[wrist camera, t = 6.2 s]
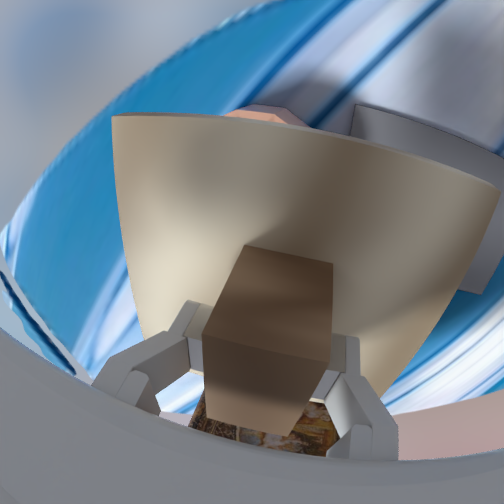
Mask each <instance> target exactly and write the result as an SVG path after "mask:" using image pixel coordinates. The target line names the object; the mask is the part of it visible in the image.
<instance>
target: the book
mask: <svg viewBox="0 0 504 504" xmlns="http://www.w3.org/2000/svg"><path fill="white" fill-rule="evenodd" d="M188 427H190V428H193V429H196V430H199V431H202V432H206V433H209V434H212V435H216V436H219V437H223V438H227V439H230V440H234V441H238V442H242V443H246V444H251V445H255V446H260V447H265V448H270V449H275V450H280V451H286V452H292V453H298V454H305V455H312V456H320V457H326V453H327V450H329V449H330V448H331V447H332V446H333V445H334V444H335V443H336V442H337V441H338V440H339V439H340V436H339V434H338V432H337V430H336V428H335V425H334V423H333V421H332V419H331V417H330V414H329V412H328V410H327V408H326V406H325V404H324V403H319V402H313V401H309V402H308V404H307V405H306V407H305V409H304V411H303V412H302V414H301V416H300V417H299V419H298V421H297V422H296V424H295V426H294V427H293V429H292V430H291V432H290V434H289V435H288V437H286V436H281V435H276V434H271V433H266V432H261V431H256V430H252V429H248V428H244V427H240V426H236V425H232V424H228V423H224V422H221V421H217V420H214V419H210V418H207V414H206V402H205V388H204V391H203V393H202V395H201V398H200V400H199V402H198V404H197V407H196V409H195V411H194V414H193V416H192V418H191V420H190V423H189V425H188Z"/></svg>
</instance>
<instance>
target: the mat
mask: <svg viewBox="0 0 504 504" xmlns="http://www.w3.org/2000/svg"><path fill="white" fill-rule="evenodd" d="M350 136H351V137H355V138H359V139H363V140H367V141H371V142H374V143H378V144H382V145H385V146H389V147H392V148H396V149H399V150H403V151H406V152H409V153H412V154H415V155H418V156H421V157H424V158H427V159H430V160H433V161H436V162H439V163H442V164H444V165H447V166H450V167H453V168H455V169H458V170H460V171H463V172H465V173H468V174H470V175H473V176H475V177H478V178H480V179H482V180H485V181H487V182H489V183H491V184H492V185H494V186H495V187H496V188H497V189H499V190H500V191H501V195H500V197H499V200H498V203H497V206H496V208H495V211H494V213H493V216H492V218H491V221H490V223H489V226H488V228H487V230H486V233H485V235H484V237H483V240H482V242H481V244H480V246H479V248H478V250H477V252H476V255H475V257H474V259H473V261H472V263H471V265H470V267H469V269H468V270H467V272H466V274H465V276H464V278H463V280H462V282H461V284H460V285H459V287H458V289H459V290H463V291H467V292H471V293H475V294H479V295H481V294H482V292H483V291H484V289H485V287H486V286H487V284H488V282H489V281H490V279H491V277H492V275H493V273H494V272H495V270H496V268H497V266H498V264H499V262H500V260H501V258H502V256H503V254H504V158H502V157H500V156H498V155H496V154H494V153H492V152H490V151H488V150H486V149H484V148H482V147H479V146H477V145H475V144H473V143H470V142H468V141H466V140H464V139H461V138H459V137H456V136H454V135H451V134H449V133H446V132H444V131H441V130H439V129H436V128H433V127H430V126H428V125H425V124H422V123H419V122H416V121H413V120H410V119H407V118H404V117H400V116H397V115H394V114H390V113H387V112H384V111H380V110H376V109H373V108H369V107H365V106H361V105H357V104H355V110H354V115H353V121H352V127H351V132H350Z"/></svg>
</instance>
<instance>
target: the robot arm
mask: <svg viewBox="0 0 504 504" xmlns="http://www.w3.org/2000/svg"><path fill="white" fill-rule="evenodd" d="M213 308H214V306H210V305H207V304H203V303H199V302H195V301H192V300H189V299H188V300H187V301H186V302H185V303H184V305H183V306H182V308H181V310H180V311H179V313H178V315H177V316H176V318H175V320H174V321H173V323H172V325H171V326H170V328H169V330H168V332H167V331H162V332H160V333H158V334H156V335H154V336H152V337H150V338H148V339H146V340H144V341H142V342H140V343H138V344H136V345H134V346H132V347H130V348H128V349H126V350H124V351H122V352H120V353H118V354H116V355H114V356H112V357H110V358H109V359H108V360H107V362H106V363H105V365H104V366H103V368H102V369H101V371H100V372H99V374H98V376H97V377H96V379H95V380H94V382H93V383H92V385H89V384H87V383H85V382H83V381H81V380H79V379H78V378H76V377H74V376H72V375H71V374H69V373H67V372H65V371H64V370H62V369H60V368H59V367H57V366H55V365H54V364H52V363H51V362H49V361H47V360H46V359H44V358H43V357H41V356H40V355H38V354H37V353H35V352H34V351H32V350H31V349H29V348H28V347H26V346H25V345H23V344H22V343H20V342H19V341H18V340H16V339H15V338H13V337H12V336H11V335H9V334H8V333H7V332H6V331H4V330H3V329H2V328H0V504H504V448H502V449H497V450H492V451H487V452H482V453H476V454H470V455H463V456H455V457H447V458H438V459H424V460H398V425H397V424H396V423H395V421H394V419H393V418H392V416H391V415H390V413H389V412H388V410H387V409H386V407H385V406H384V404H383V403H382V401H381V400H380V398H379V397H378V395H377V394H376V392H375V391H374V389H373V388H372V386H371V385H370V384H369V382H368V381H367V379H366V378H365V376H361V362H360V339H359V337H354V336H348V335H342V334H337V333H332V335H331V353H330V363H329V365H328V367H327V369H326V371H325V373H324V375H323V377H322V379H321V380H320V382H319V384H318V386H317V388H316V390H315V391H314V393H313V395H312V397H311V398H316V399H321V400H324V404H325V406H326V408H327V410H328V412H329V414H330V417H331V419H332V421H333V423H334V425H335V428H336V430H337V432H338V434H339V436H340V439H339V440H338V441H337V442H336V443H335V444H334V445H333V446H332V447H331V448H330V449H329V450H327V453H326V457H320V456H312V455H305V454H298V453H292V452H286V451H280V450H275V449H270V448H265V447H260V446H255V445H251V444H246V443H242V442H238V441H234V440H230V439H227V438H223V437H219V436H216V435H212V434H209V433H206V432H202V431H199V430H196V429H193V428H190V427H187V426H184V425H181V424H178V423H175V422H173V421H170V420H167V419H164V418H162V417H159V414H160V412H161V410H160V407H159V405H158V402H157V399H156V397H155V395H156V394H157V393H158V392H160V391H161V390H163V389H164V388H166V387H167V386H169V385H170V384H171V383H173V382H174V381H176V380H177V379H179V378H180V377H181V376H183V375H184V374H186V373H187V372H188V371H190V369H193V370H196V371H200V372H203V356H202V335H201V333H202V331H203V329H204V327H205V325H206V323H207V321H208V319H209V317H210V315H211V313H212V310H213Z"/></svg>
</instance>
